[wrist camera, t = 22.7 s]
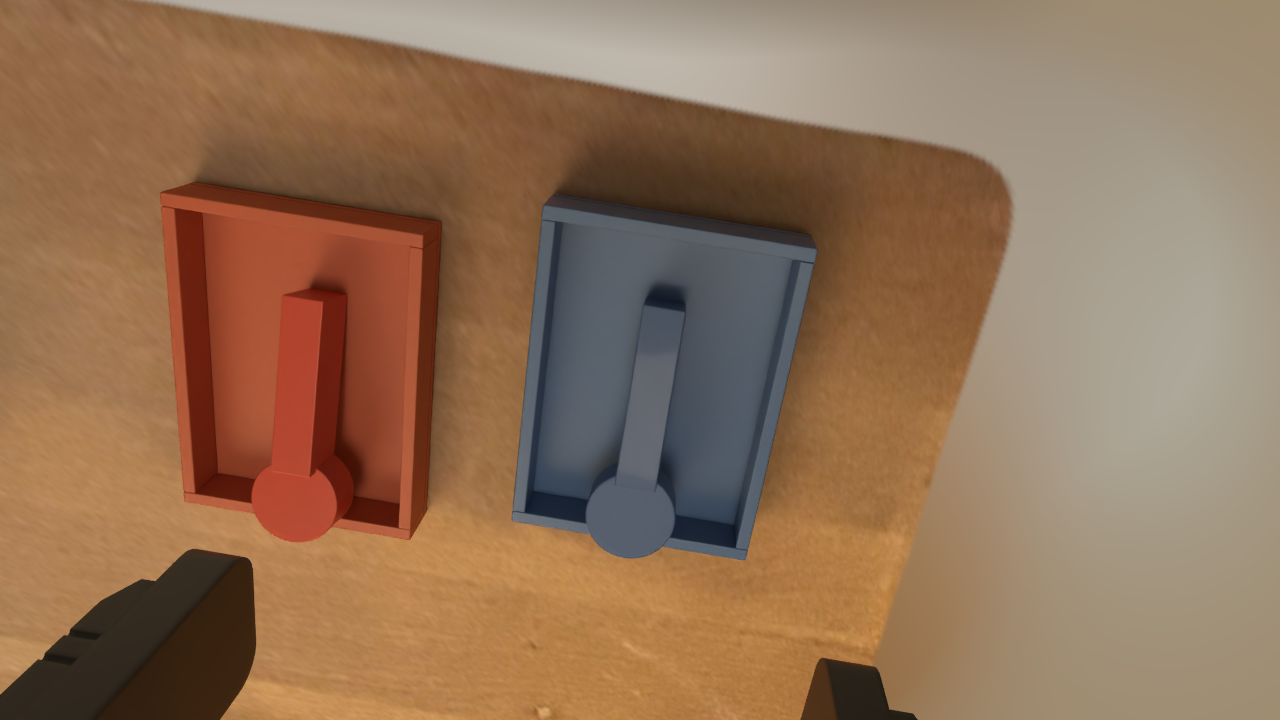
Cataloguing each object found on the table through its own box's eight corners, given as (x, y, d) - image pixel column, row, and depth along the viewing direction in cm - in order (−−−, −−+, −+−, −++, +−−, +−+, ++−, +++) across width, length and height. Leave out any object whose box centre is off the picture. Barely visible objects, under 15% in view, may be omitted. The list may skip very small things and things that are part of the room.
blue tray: (553, 193, 35) (542, 204, 33) (811, 234, 35) (818, 248, 33) (522, 493, 41) (511, 521, 39) (743, 531, 41) (745, 561, 39)
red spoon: (285, 283, 37) (256, 290, 35) (371, 297, 37) (348, 305, 35) (269, 518, 40) (241, 540, 37) (350, 532, 40) (327, 555, 37)
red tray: (194, 181, 36) (159, 191, 34) (441, 221, 36) (423, 234, 34) (212, 476, 42) (183, 502, 40) (426, 512, 42) (410, 540, 40)
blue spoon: (621, 292, 36) (616, 299, 34) (711, 307, 36) (712, 315, 34) (584, 532, 39) (577, 556, 36) (668, 547, 39) (667, 572, 36)
